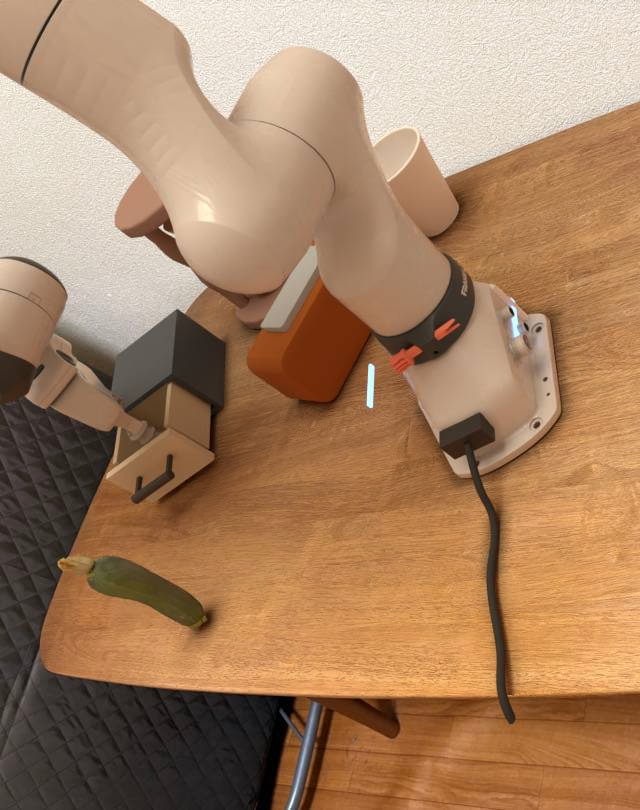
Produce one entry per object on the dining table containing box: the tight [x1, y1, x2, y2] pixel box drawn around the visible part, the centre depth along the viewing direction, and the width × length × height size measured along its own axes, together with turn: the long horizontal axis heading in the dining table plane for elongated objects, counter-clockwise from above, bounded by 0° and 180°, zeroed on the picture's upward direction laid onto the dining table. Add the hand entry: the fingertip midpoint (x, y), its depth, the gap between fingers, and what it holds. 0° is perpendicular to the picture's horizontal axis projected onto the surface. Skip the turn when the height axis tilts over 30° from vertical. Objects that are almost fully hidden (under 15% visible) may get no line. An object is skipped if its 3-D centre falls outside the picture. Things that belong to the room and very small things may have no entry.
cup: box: [372, 125, 460, 238], centre depth 118 cm, size 12×12×12 cm
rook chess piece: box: [126, 420, 161, 445], centre depth 121 cm, size 4×4×8 cm
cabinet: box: [110, 308, 226, 430], centre depth 132 cm, size 16×14×10 cm
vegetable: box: [57, 555, 208, 630], centre depth 96 cm, size 4×4×20 cm
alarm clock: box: [246, 240, 372, 403], centre depth 115 cm, size 24×8×11 cm, turn 155°
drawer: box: [105, 379, 215, 505], centre depth 122 cm, size 19×12×8 cm, turn 17°
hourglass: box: [114, 171, 314, 330], centre depth 129 cm, size 18×18×25 cm
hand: (129, 416), depth 119 cm, fingers open, 8 cm apart
